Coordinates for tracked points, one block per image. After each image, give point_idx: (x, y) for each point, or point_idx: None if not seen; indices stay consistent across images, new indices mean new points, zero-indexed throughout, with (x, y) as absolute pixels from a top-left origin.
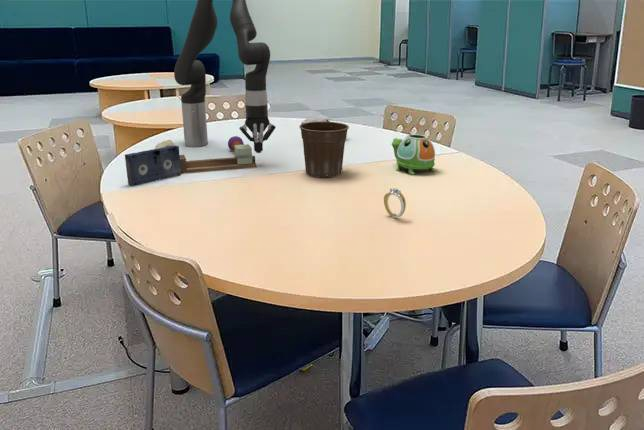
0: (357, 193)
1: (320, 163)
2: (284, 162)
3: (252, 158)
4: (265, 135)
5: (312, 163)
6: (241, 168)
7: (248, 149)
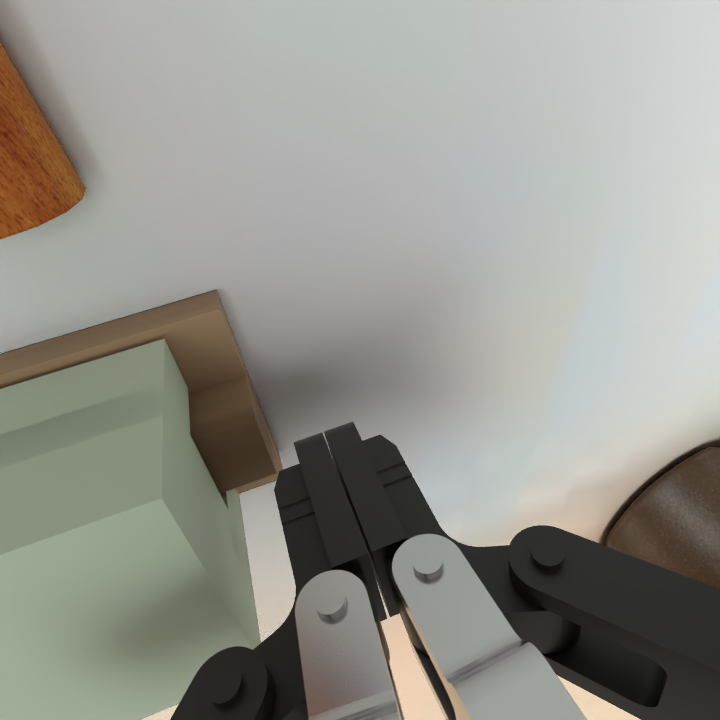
0: None
1: None
2: (559, 268)
3: (238, 475)
4: (588, 606)
5: None
6: None
7: None
